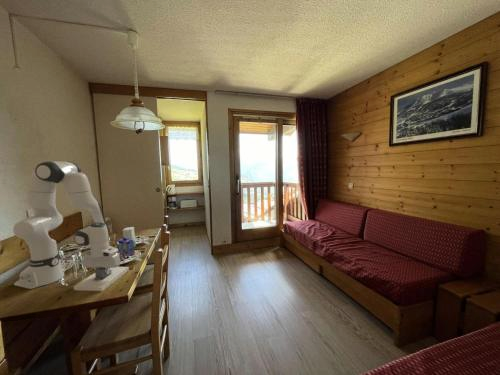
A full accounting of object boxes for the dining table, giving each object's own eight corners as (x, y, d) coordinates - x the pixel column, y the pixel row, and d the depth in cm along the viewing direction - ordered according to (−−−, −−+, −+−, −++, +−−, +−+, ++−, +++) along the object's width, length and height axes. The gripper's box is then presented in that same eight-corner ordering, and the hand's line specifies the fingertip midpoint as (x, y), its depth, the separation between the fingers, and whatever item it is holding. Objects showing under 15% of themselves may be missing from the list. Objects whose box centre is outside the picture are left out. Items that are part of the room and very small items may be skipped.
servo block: (93, 283, 119) (91, 270, 118) (106, 274, 128) (105, 261, 127) (100, 283, 118) (98, 270, 117) (112, 274, 128) (111, 262, 127)
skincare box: (132, 248, 167) (131, 229, 165) (123, 249, 165) (121, 230, 163) (136, 244, 175) (134, 226, 173) (127, 245, 173) (125, 227, 172)
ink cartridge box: (119, 256, 154) (117, 236, 152) (126, 253, 159) (124, 234, 157) (128, 258, 150) (126, 238, 148) (135, 255, 155) (133, 236, 153)
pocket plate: (73, 290, 113) (73, 286, 113) (105, 269, 135) (104, 266, 135) (101, 291, 112) (101, 287, 112) (128, 270, 134) (128, 266, 133)
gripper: (78, 253, 119) (81, 276, 121) (113, 253, 117) (115, 277, 119) (88, 248, 125) (90, 270, 127) (120, 249, 124) (123, 271, 125)
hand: (103, 273), depth 123 cm, fingers closed on servo block, 4 cm apart
